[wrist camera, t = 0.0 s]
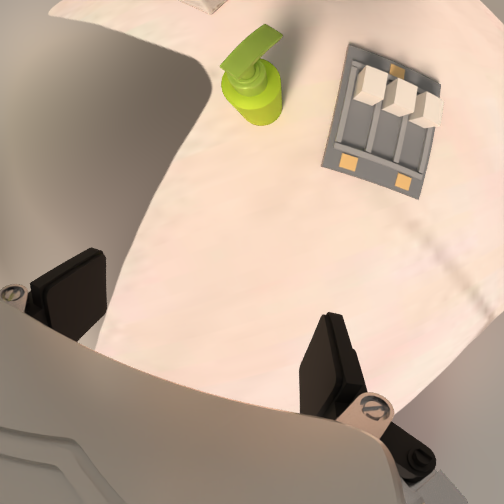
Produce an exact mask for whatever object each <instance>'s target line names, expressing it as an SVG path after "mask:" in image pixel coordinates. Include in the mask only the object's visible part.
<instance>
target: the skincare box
mask: <svg viewBox="0 0 504 504" xmlns="http://www.w3.org/2000/svg"><path fill="white" fill-rule="evenodd" d="M178 1H180V2H183V3H185V4H187V5H190V6H192V7H194V8H196V9H199V10H201V11H203V12H205V13H207V14H210V15H211V14H213V13H214V12H215V11H216V10H217V9H218V8H219V7H220V6H221V5H222V4H223V3H225V2H226V1H227V0H178Z"/></svg>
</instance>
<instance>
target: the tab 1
mask: <svg viewBox="0 0 504 504" xmlns="http://www.w3.org/2000/svg"><path fill="white" fill-rule="evenodd" d="M387 76H388V73H386V72H383V71H381V70H378V69H376V68H373V67H371V66H368V65H366V66H365V67H364V68H363V70H362V71H361V72H360V73H359V74H358V75H357V79H356V85H355V90H354V95H353V99H354V100H357V101H360V102H363V103H366V104H368V105H371V106H373V105H374V104H376V103H378V102H380V101H381V100H383V99H384V94H385V89H386V83H387Z"/></svg>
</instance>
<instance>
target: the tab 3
mask: <svg viewBox="0 0 504 504" xmlns="http://www.w3.org/2000/svg"><path fill="white" fill-rule="evenodd" d="M443 106H444V100H442V99H440V98H438V97H437V96H435V95H433V94H431V93H429V92H427V91H426V92H424V93H422V94H419V95H417V96H416V102H415V108H414V112H413V113H410V114H409V119H408V121H410V122H412V123H414V124H416V125H418V126H421V127H423V128H430V127H436V126H441V120H442V113H443Z"/></svg>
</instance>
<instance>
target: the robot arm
mask: <svg viewBox="0 0 504 504" xmlns="http://www.w3.org/2000/svg"><path fill="white" fill-rule="evenodd" d="M30 287H31V291H30V292H29V293H28V290H27V288H26V287H25V286H23V285H20V284H11V285H8V286H5V287H3V288H2V289H1V290H0V504H468V502H467V500H466V498H465V497H464V496H463V495H462V494H461V492H460V491H459V490H458V489H457V488H456V487H455V485H454V484H453V483H452V482H451V481H450V480H449V479H448V478H447V476H446V475H445V474H444V473H443V472H442V471H441V470H439V471H438V472H437V471H436V470H435V466H436V458H435V455H434V453H433V452H432V450H431V449H430V448H428V447H427V446H426V445H424V444H423V443H421V442H420V441H419V440H417V439H416V438H414V437H413V436H411V435H410V434H408V433H407V432H406V431H404V430H403V429H401V428H400V427H399V426H397V425H396V424H394V423H393V422H392V419H393V417H394V409H393V406H392V404H391V403H390V402H389V401H388V400H387V399H386V398H385V397H383V396H381V395H379V394H377V393H373V392H367V388H366V385H365V381H364V378H363V374H362V371H361V367H360V364H359V361H358V357H357V354H356V351H355V350H354V349H352V345H351V342H350V339H349V335H348V332H347V329H346V326H345V323H344V319H343V316H342V315H340V314H336V313H331V312H328V313H327V314H326V315H322V316H321V318H320V320H319V323H318V325H317V328H316V330H315V332H314V335H313V337H312V340H311V342H310V344H309V347H308V349H307V351H306V353H305V356H304V358H303V360H302V362H301V365H300V369H299V385H300V413H294V412H289V411H284V410H279V409H274V408H268V407H263V406H259V405H254V404H249V403H245V402H241V401H237V400H232V399H228V398H225V397H221V396H217V395H213V394H210V393H206V392H203V391H199V390H196V389H193V388H190V387H186V386H183V385H180V384H177V383H174V382H171V381H168V380H165V379H163V378H160V377H157V376H154V375H151V374H149V373H146V372H143V371H141V370H138V369H136V368H133V367H131V366H128V365H126V364H123V363H121V362H119V361H116V360H114V359H112V358H109V357H107V356H105V355H103V354H101V353H98V352H96V351H94V350H92V349H90V348H88V347H86V346H84V345H82V344H80V343H78V342H77V341H78V340H79V339H80V338H81V337H82V336H83V335H84V334H85V333H86V332H87V331H88V330H89V329H90V328H91V327H92V326H93V325H94V324H95V323H96V322H97V321H98V320H99V319H100V318H101V317H102V316H103V315H104V314H105V313H106V310H107V298H106V257H105V255H104V254H103V252H102V251H101V250H97V249H94V248H89V249H87V250H85V251H84V252H82V253H80V254H78V255H76V256H75V257H73V258H71V259H69V260H67V261H66V262H64V263H62V264H61V265H59V266H57V267H56V268H54V269H52V270H50V271H49V272H47V273H45V274H44V275H42V276H40V277H39V278H37V279H36V280H34V281H32V282H31V283H30Z"/></svg>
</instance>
